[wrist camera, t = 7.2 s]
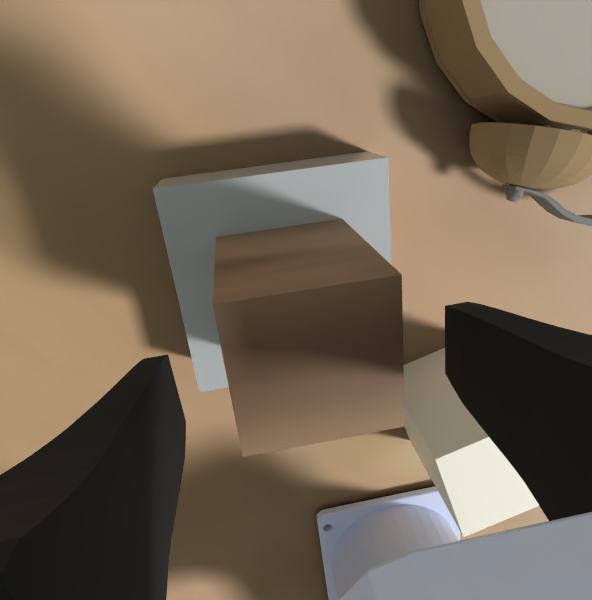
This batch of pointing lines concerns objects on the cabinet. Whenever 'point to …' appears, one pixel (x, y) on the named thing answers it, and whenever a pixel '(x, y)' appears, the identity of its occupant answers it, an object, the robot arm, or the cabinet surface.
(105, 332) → the cabinet surface
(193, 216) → the grey stone block
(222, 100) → the cabinet surface
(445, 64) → the alarm clock
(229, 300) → the walnut block
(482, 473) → the cream block
